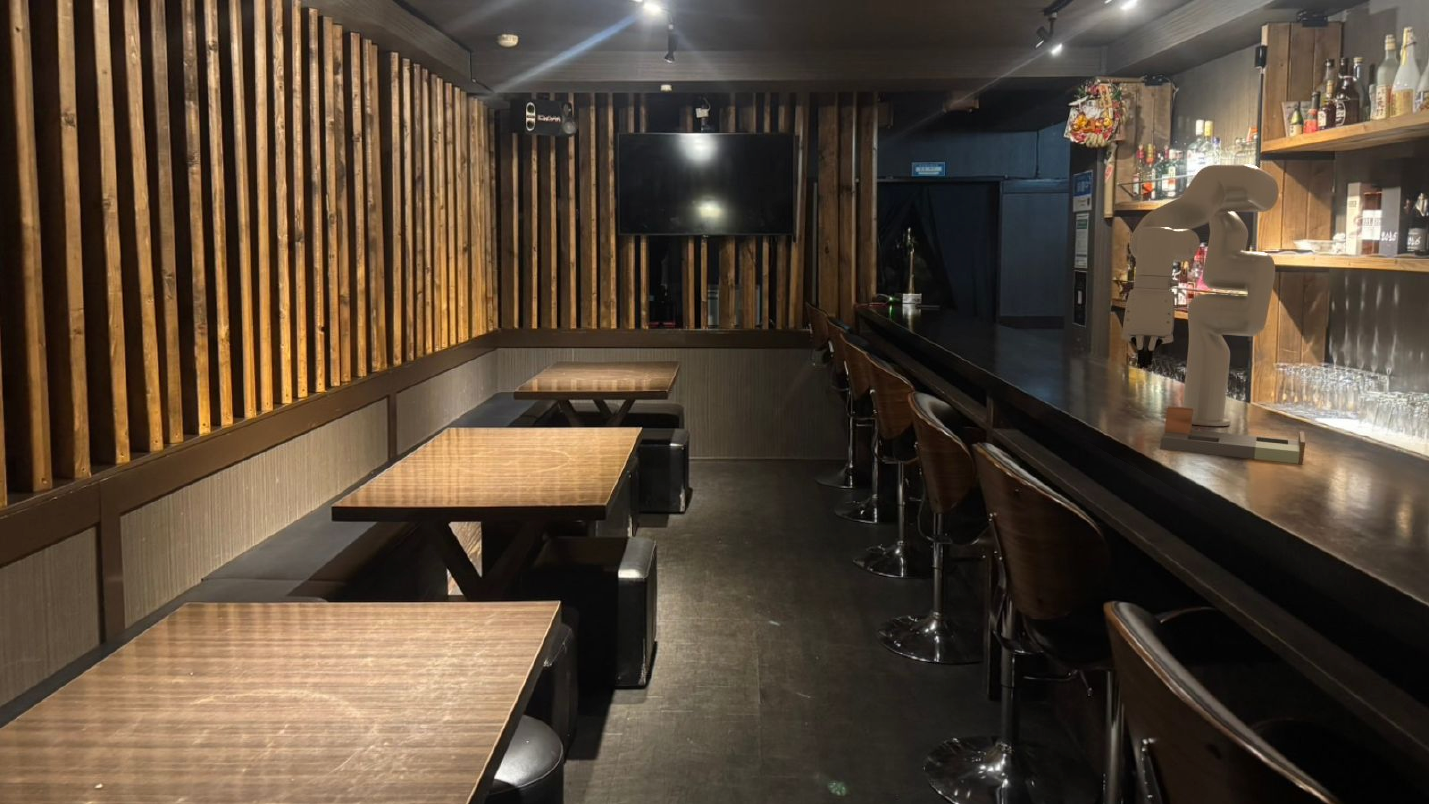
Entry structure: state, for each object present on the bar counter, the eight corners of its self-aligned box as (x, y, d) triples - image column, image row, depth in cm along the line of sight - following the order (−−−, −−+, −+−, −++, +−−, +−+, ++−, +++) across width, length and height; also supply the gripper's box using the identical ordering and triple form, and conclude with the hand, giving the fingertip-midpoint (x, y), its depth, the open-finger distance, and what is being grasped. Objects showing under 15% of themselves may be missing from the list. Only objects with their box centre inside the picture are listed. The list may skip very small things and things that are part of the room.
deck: (1166, 438, 248) (1168, 418, 247) (1301, 452, 236) (1303, 431, 235) (1159, 448, 234) (1161, 427, 234) (1302, 464, 223) (1305, 442, 222)
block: (1166, 428, 246) (1169, 406, 245) (1191, 430, 244) (1193, 408, 243) (1164, 431, 242) (1166, 408, 241) (1189, 434, 239) (1191, 411, 239)
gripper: (1190, 285, 242) (1182, 369, 244) (1118, 282, 248) (1110, 363, 251) (1188, 286, 235) (1179, 372, 237) (1113, 282, 241) (1106, 366, 244)
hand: (1144, 367), depth 244 cm, fingers closed
